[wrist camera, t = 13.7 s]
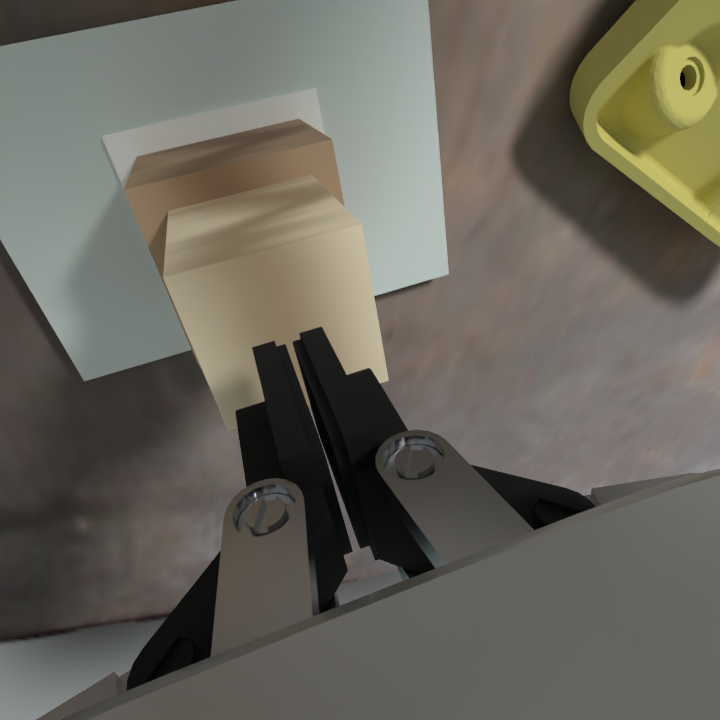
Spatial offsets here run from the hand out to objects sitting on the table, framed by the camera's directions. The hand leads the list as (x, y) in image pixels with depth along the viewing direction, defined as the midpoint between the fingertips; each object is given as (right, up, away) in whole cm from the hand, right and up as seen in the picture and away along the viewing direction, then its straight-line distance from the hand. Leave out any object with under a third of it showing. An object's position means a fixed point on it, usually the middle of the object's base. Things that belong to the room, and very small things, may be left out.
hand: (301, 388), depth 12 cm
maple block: (-2, +4, +7) cm, 8 cm away
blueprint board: (-4, +9, +12) cm, 15 cm away
